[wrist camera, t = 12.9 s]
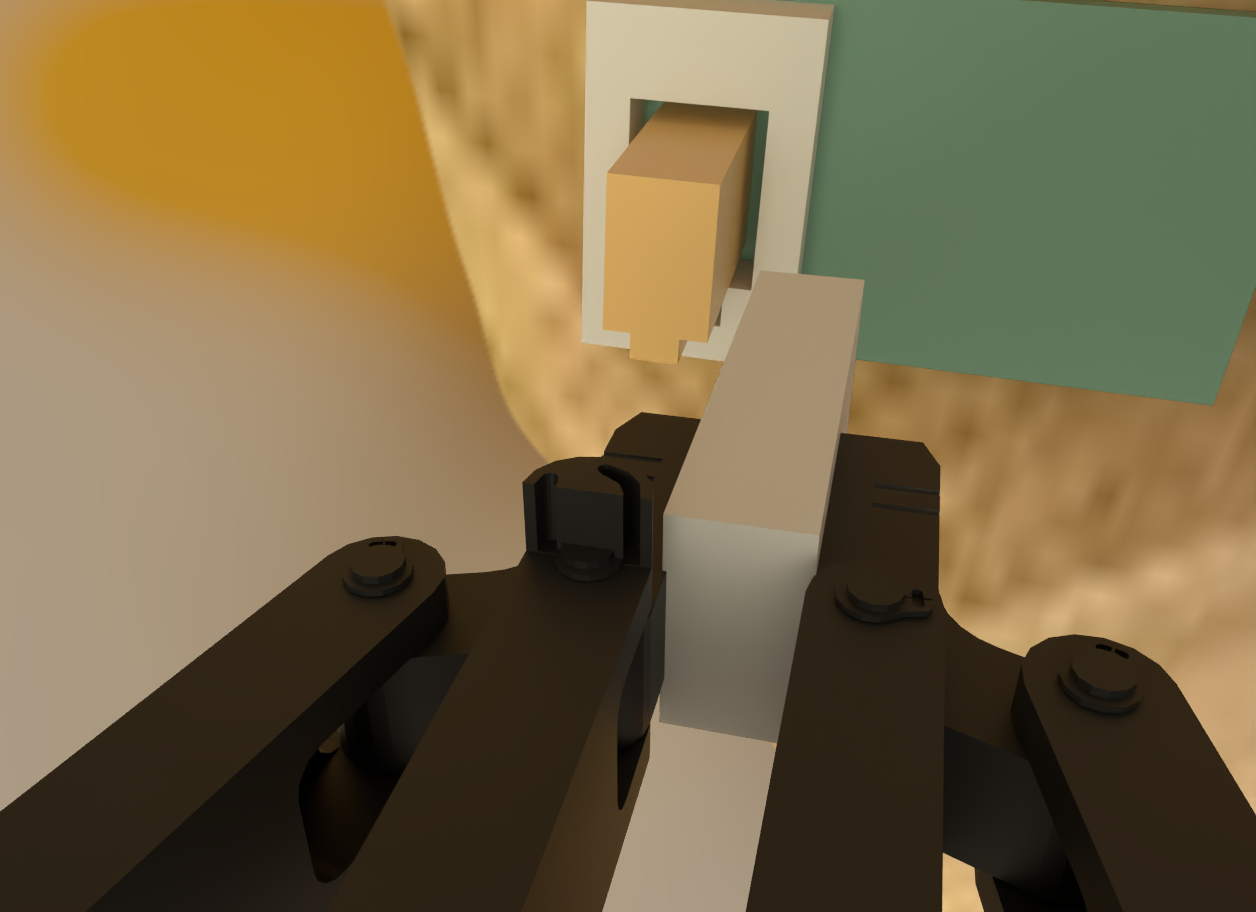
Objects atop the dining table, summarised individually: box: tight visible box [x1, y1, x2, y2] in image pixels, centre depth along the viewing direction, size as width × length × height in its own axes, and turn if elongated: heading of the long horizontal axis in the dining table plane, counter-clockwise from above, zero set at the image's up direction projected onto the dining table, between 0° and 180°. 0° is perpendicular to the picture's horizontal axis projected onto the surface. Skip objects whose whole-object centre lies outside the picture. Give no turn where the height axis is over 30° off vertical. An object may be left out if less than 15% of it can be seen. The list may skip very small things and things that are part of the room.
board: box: [582, 0, 1256, 406], centre depth 35 cm, size 21×12×4 cm, turn 87°
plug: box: [603, 101, 758, 365], centre depth 33 cm, size 3×5×8 cm, turn 177°
